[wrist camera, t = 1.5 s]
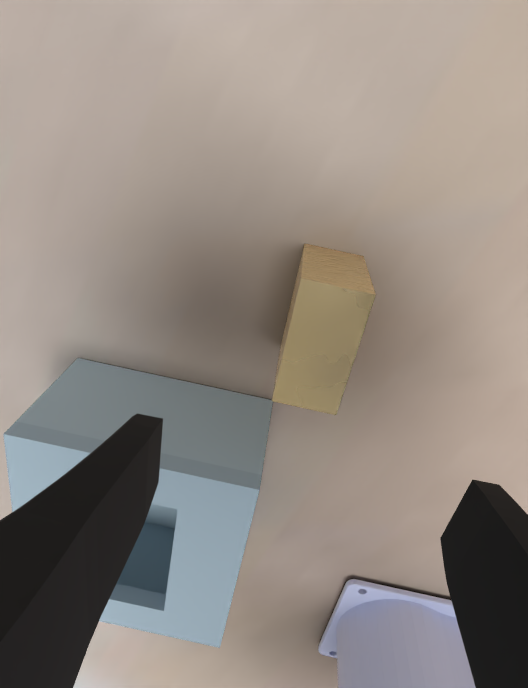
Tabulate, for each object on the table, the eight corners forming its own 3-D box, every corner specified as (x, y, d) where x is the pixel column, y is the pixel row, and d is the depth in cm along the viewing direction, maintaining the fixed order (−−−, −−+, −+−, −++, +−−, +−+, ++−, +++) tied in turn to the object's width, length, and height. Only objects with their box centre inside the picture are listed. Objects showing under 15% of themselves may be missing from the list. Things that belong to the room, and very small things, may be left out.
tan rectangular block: (363, 255, 19) (375, 294, 15) (332, 357, 21) (336, 415, 17) (304, 243, 19) (301, 278, 15) (280, 346, 21) (271, 401, 17)
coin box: (273, 400, 22) (259, 489, 17) (238, 544, 27) (219, 647, 22) (77, 357, 22) (3, 434, 17) (80, 509, 28) (23, 604, 22)
